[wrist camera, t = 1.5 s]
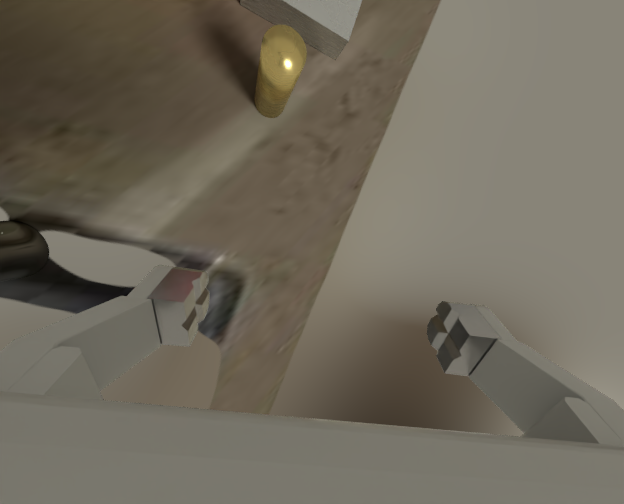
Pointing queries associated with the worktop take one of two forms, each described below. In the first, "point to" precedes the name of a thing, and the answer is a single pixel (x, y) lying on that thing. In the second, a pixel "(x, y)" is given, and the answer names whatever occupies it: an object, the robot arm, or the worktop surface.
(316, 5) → the grey square frame block
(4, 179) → the worktop surface
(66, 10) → the worktop surface
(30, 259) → the beer glass
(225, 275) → the worktop surface
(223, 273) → the worktop surface
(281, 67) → the key rod
